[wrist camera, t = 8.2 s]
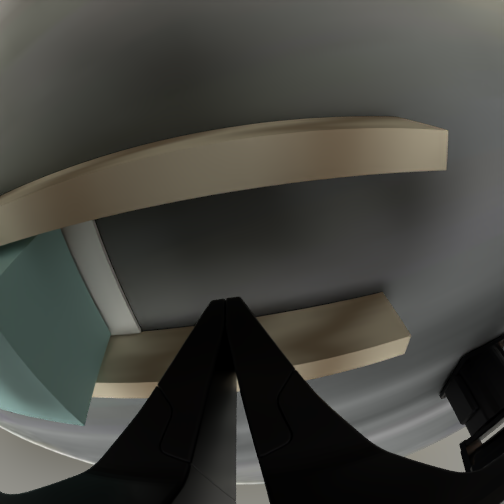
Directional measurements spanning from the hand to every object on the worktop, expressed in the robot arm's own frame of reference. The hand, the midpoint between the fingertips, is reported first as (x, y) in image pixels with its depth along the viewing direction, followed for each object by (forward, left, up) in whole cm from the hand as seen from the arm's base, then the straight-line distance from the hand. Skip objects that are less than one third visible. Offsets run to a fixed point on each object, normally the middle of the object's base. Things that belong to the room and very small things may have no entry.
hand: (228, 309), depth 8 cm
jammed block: (+9, 0, -3) cm, 9 cm away
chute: (+3, 0, -3) cm, 4 cm away
